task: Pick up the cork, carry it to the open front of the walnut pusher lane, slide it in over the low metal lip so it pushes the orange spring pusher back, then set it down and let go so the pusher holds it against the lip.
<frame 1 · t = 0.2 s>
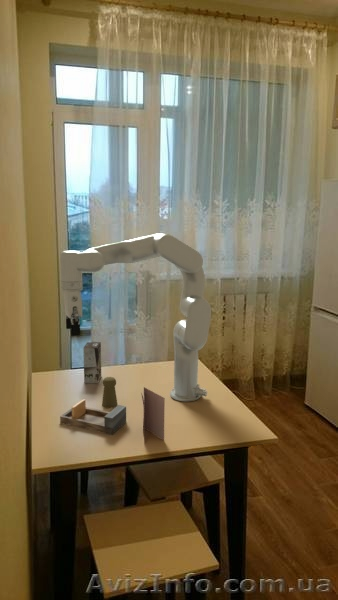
hand: (73, 331, 158), 30 cm above the table, tool pointing down, fingers open, 9 cm apart
greeting card: (152, 436, 146), on the table
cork: (109, 405, 168), on the table
lane: (93, 422, 154), on the table
coffee box: (93, 379, 194), on the table
pusher: (78, 409, 156), point 4 cm above the table, slide at 0.0 cm
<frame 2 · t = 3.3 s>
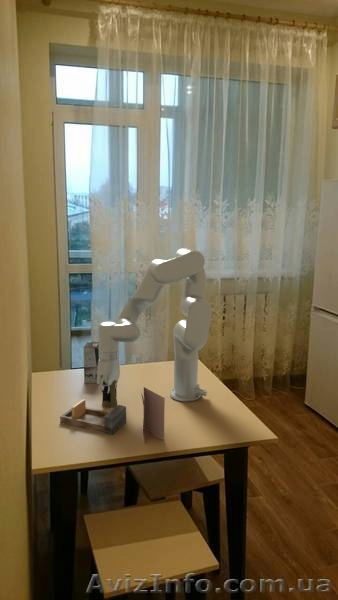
hand: (109, 399, 168), 2 cm above the table, tool pointing down, fingers closed on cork, 3 cm apart
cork: (109, 405, 168), on the table, touching gripper
everything else where it was.
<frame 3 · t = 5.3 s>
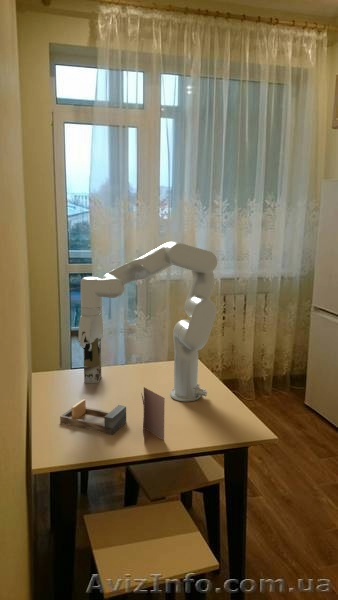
hand: (91, 358, 162), 20 cm above the table, tool pointing down, fingers closed on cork, 3 cm apart
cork: (91, 364, 162), point 17 cm above the table, touching gripper
everything else where it was.
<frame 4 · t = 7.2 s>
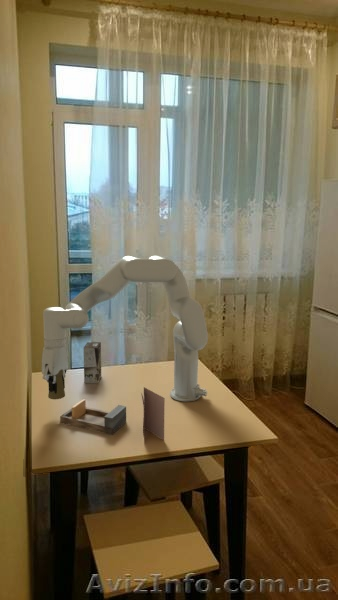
hand: (56, 390, 158), 10 cm above the table, tool pointing down, fingers closed on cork, 3 cm apart
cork: (56, 396, 158), point 7 cm above the table, touching gripper
everything else where it was.
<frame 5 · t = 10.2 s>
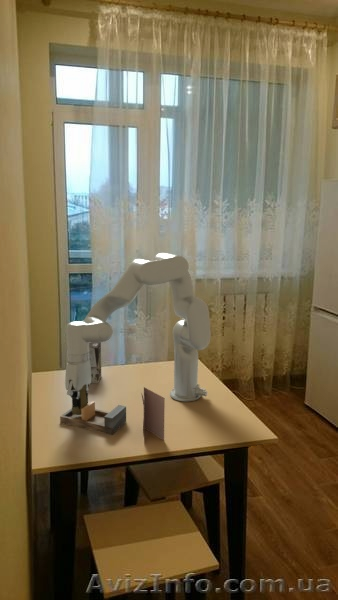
hand: (80, 405, 155), 6 cm above the table, tool pointing down, fingers closed on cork, 3 cm apart
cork: (80, 411, 156), point 3 cm above the table, touching gripper, pusher
pusher: (88, 411, 154), point 4 cm above the table, slide at 4.0 cm, touching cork
everything else where it was.
when the fingers open (4 cm above the table, at t = 11.2 s): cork stays where it is, resting on lane, pusher.
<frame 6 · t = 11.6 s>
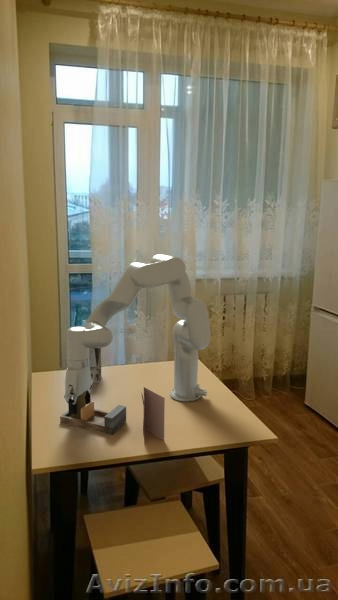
hand: (79, 408, 155), 4 cm above the table, tool pointing down, fingers open, 8 cm apart
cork: (79, 417, 156), point 1 cm above the table, touching lane, pusher
pusher: (87, 411, 154), point 4 cm above the table, slide at 3.7 cm, touching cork
everything else where it was.
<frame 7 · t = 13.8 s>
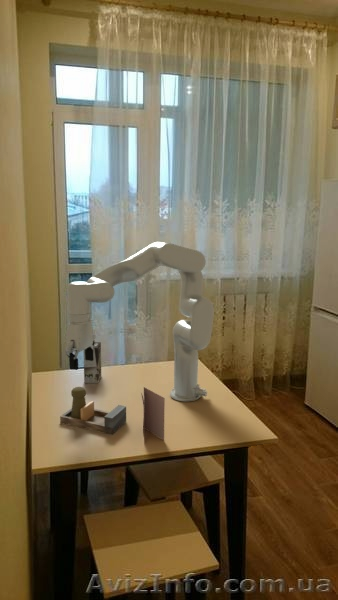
hand: (81, 364, 153), 20 cm above the table, tool pointing down, fingers open, 9 cm apart
nothing on the table moved.
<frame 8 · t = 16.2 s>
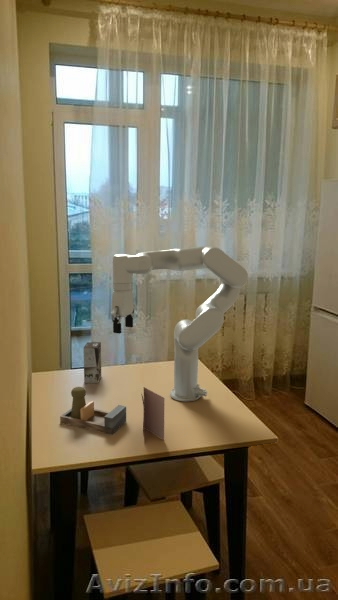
hand: (123, 329, 169), 28 cm above the table, tool pointing down, fingers open, 9 cm apart
nothing on the table moved.
at the end: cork 0.6 cm from the target spot on the lane, point 0.8 cm above the lane's base; pusher slide at 3.6 cm; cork tilted 0° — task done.
